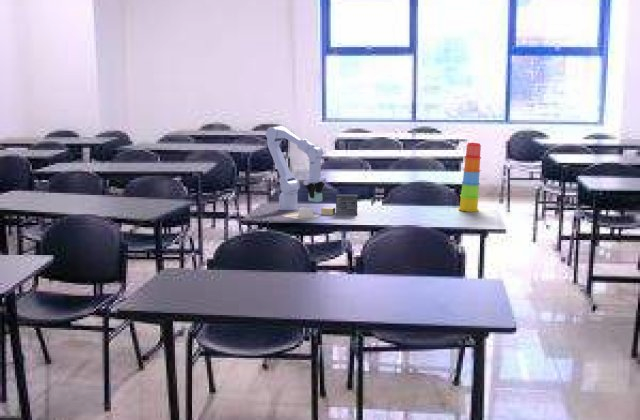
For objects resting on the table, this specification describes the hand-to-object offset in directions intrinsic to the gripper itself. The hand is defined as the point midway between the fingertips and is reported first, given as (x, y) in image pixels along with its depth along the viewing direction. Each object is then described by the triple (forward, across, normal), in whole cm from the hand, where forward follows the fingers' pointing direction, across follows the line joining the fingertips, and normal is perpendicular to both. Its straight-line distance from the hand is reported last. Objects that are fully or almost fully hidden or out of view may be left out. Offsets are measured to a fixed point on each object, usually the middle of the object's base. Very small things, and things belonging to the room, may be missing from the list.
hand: (315, 197), depth 370 cm
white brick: (+7, -12, -5) cm, 15 cm away
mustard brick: (+8, 0, -9) cm, 12 cm away
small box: (+8, +6, -16) cm, 19 cm away
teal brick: (+2, 0, 0) cm, 2 cm away
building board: (+8, -12, -2) cm, 15 cm away
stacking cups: (+8, +59, -53) cm, 80 cm away
